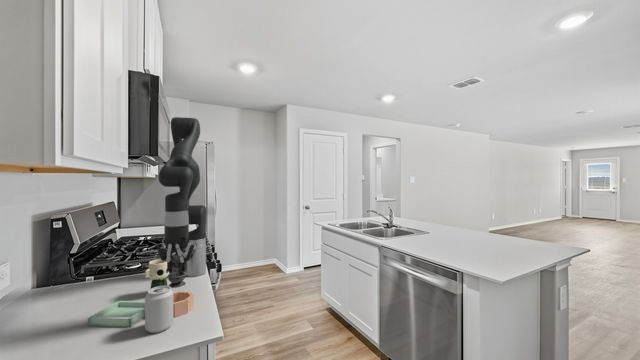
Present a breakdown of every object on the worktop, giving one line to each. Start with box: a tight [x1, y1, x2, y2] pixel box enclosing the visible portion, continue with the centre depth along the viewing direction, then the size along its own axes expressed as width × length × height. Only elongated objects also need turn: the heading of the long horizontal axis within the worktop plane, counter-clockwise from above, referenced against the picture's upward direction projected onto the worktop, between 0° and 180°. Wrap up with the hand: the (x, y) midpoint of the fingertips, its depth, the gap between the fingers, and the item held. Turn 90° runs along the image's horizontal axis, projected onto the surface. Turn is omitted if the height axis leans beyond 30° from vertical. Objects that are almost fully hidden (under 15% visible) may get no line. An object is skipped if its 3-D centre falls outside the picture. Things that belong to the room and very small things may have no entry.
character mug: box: [144, 258, 170, 290], centre depth 107 cm, size 11×7×13 cm, turn 157°
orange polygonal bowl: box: [173, 290, 195, 319], centre depth 94 cm, size 10×10×4 cm
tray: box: [87, 300, 145, 328], centre depth 89 cm, size 12×14×2 cm
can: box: [144, 285, 174, 334], centre depth 82 cm, size 8×8×12 cm
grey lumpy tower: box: [167, 253, 187, 289], centre depth 94 cm, size 6×6×12 cm
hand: (177, 272), depth 94 cm, fingers closed on grey lumpy tower, 3 cm apart
